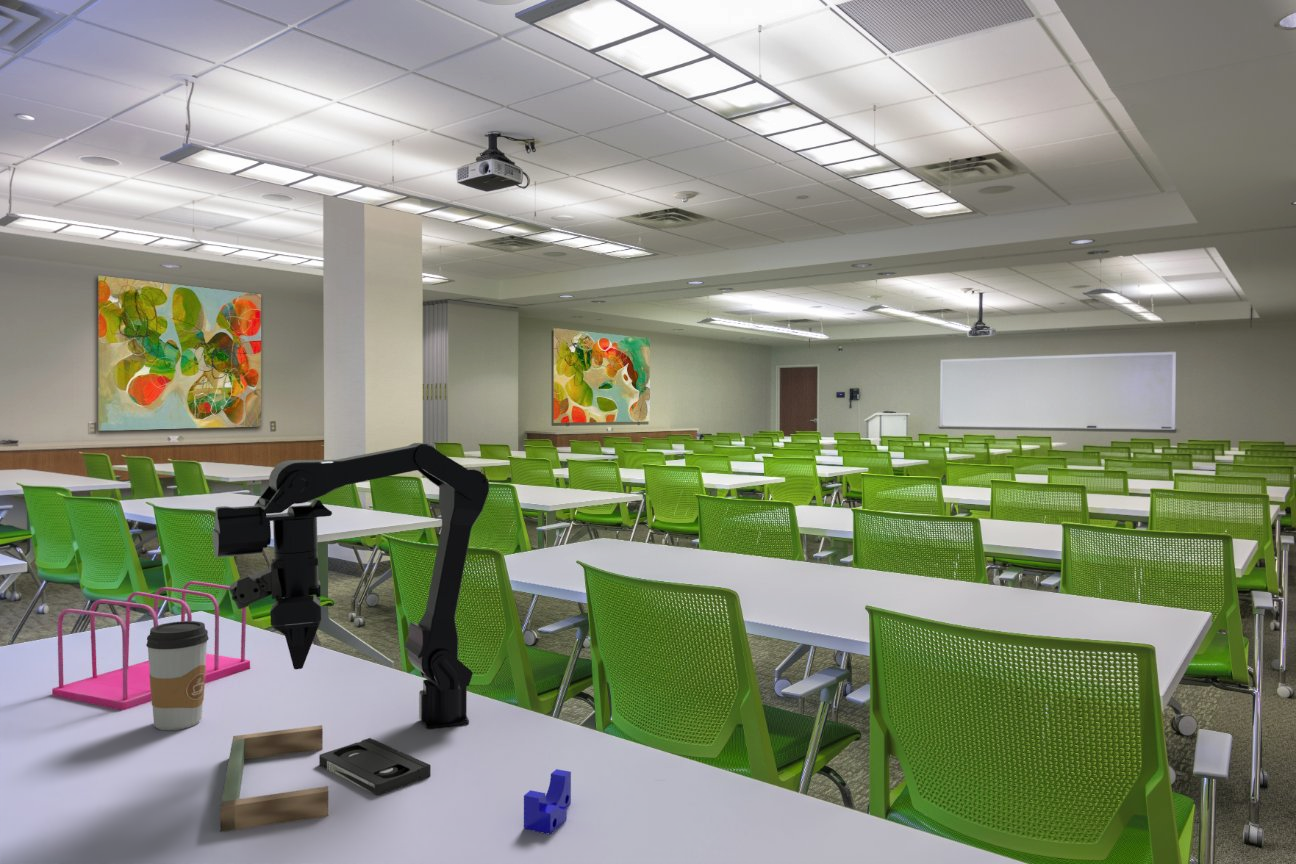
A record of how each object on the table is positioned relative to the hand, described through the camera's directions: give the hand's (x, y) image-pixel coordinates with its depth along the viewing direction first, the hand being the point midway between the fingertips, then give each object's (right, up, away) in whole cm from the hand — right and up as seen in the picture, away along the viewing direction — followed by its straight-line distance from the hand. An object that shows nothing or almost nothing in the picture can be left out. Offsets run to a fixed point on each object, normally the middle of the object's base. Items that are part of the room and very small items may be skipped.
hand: (298, 659), depth 122 cm
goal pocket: (+3, -13, -11) cm, 17 cm away
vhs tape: (+13, -14, -7) cm, 20 cm away
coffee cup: (-22, -13, +9) cm, 27 cm away
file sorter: (-37, -12, +29) cm, 48 cm away
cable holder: (+38, -14, -19) cm, 45 cm away
